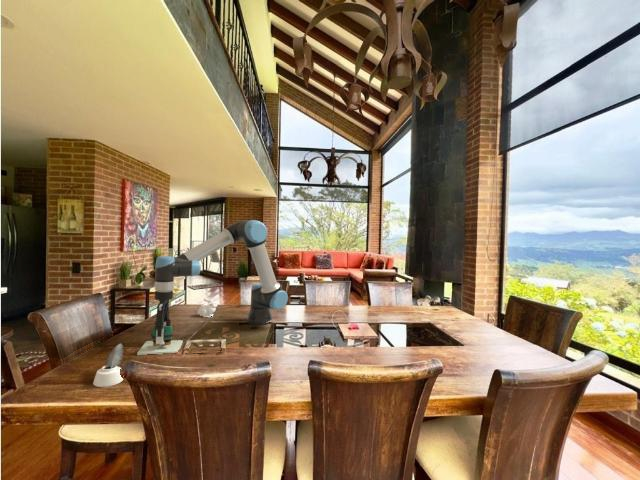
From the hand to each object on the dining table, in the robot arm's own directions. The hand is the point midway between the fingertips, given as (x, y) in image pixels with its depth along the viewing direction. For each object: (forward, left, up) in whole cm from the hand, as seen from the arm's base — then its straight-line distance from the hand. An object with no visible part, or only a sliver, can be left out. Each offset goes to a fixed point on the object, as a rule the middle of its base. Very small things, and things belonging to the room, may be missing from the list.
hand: (161, 339), depth 150 cm
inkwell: (+11, +27, -4) cm, 30 cm away
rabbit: (-16, -55, -4) cm, 57 cm away
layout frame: (-19, 0, -4) cm, 19 cm away
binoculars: (0, 0, -2) cm, 2 cm away
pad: (0, 0, -4) cm, 4 cm away
